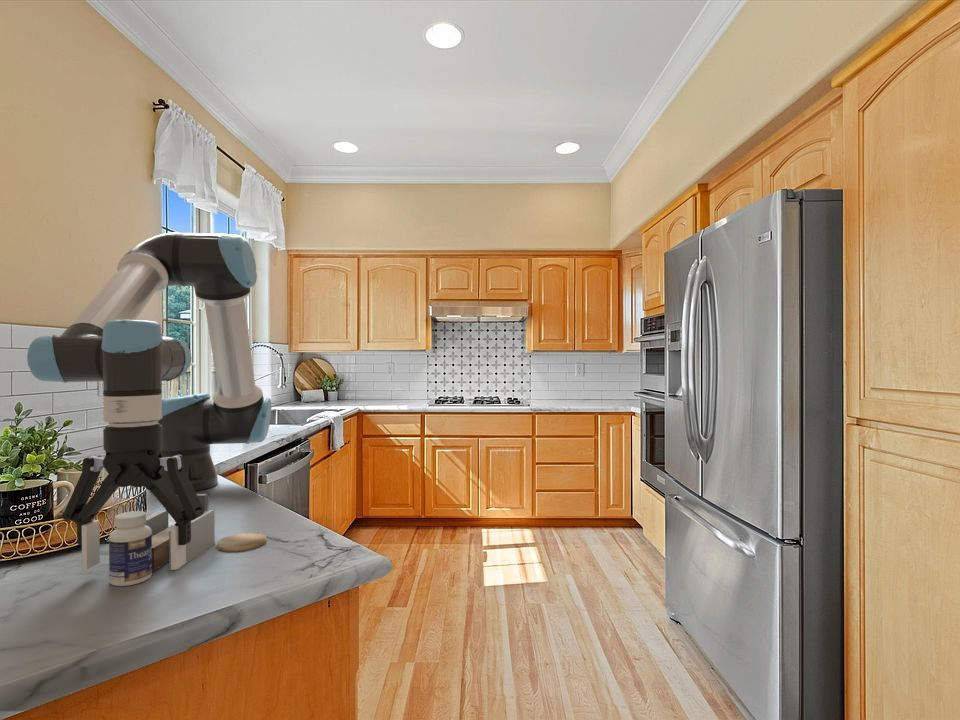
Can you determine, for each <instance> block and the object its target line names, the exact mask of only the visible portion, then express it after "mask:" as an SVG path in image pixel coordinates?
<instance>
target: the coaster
mask: <svg viewBox="0 0 960 720" xmlns="http://www.w3.org/2000/svg"><path fill="white" fill-rule="evenodd" d="M266 542H267V536H266V535H265V534H263V533H257V532H256V533H255V532H247V533H245V532H244V533H238V534H232V535H229V536H225V537H223V538H221V539H219V540H218V541H217V542H216V548H217V550H218V551H222V552H230V553H231V552H232V553H233V552H234V553H235V552H236V553H237V552H243V551H244V552H245V551H250V550H254V549H257V548H260V547H262V546H264V545H265V544H266Z"/></svg>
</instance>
